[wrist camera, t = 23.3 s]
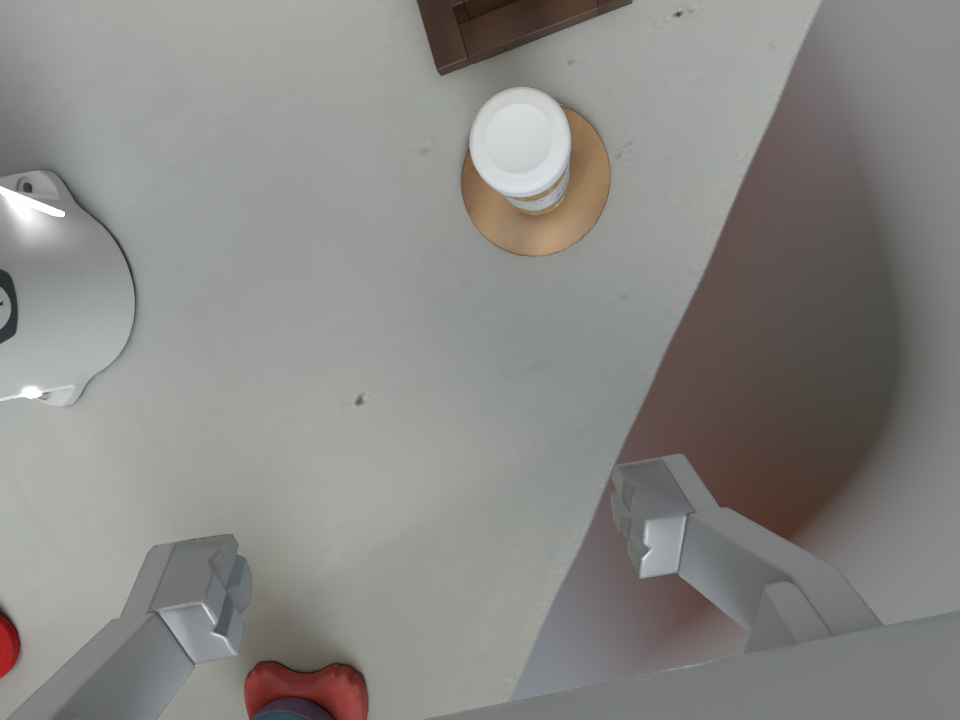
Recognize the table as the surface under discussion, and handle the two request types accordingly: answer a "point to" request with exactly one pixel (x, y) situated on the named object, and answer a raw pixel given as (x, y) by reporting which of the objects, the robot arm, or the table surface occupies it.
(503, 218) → the coaster
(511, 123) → the sprinkles bottle
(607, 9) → the holder
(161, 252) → the table surface
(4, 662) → the red tape dispenser
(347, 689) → the stacking bear
